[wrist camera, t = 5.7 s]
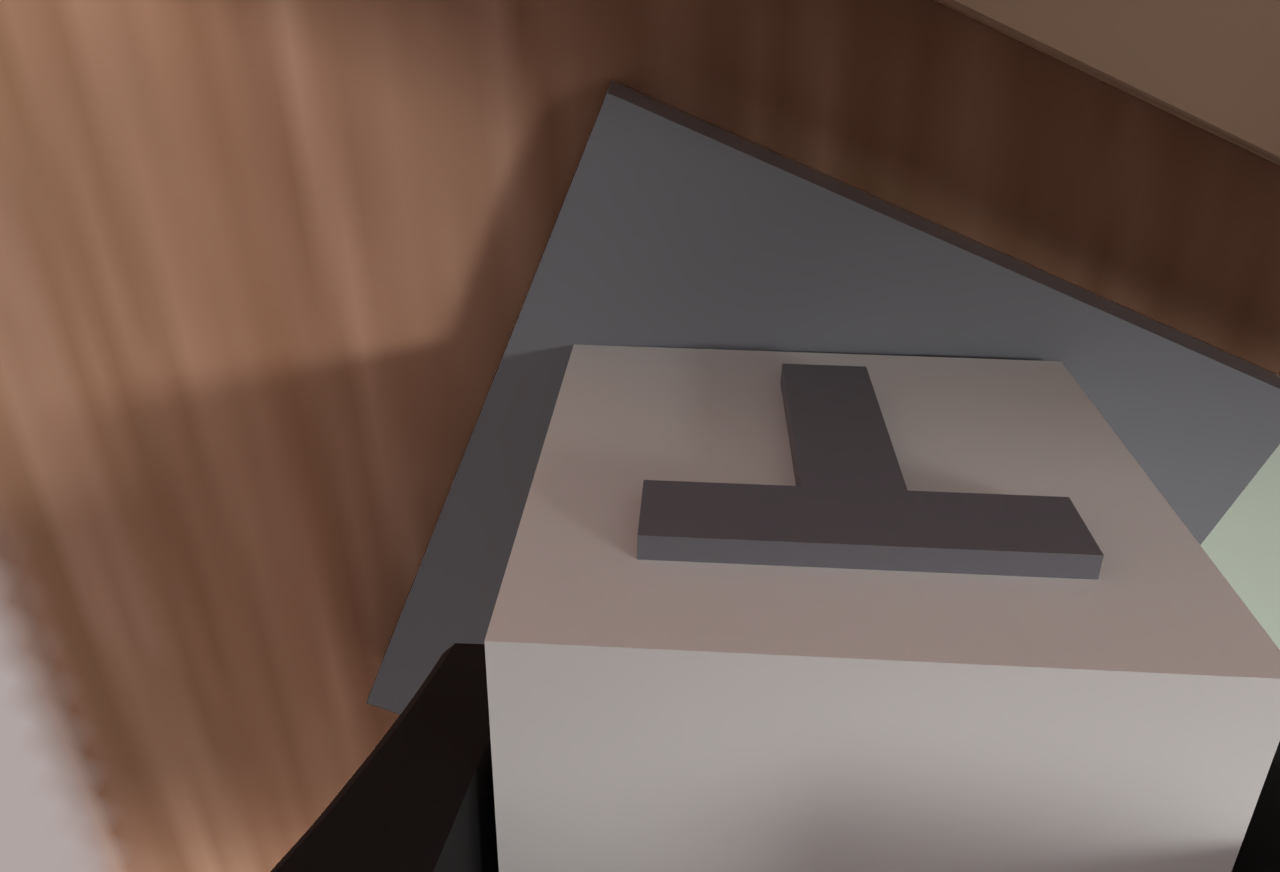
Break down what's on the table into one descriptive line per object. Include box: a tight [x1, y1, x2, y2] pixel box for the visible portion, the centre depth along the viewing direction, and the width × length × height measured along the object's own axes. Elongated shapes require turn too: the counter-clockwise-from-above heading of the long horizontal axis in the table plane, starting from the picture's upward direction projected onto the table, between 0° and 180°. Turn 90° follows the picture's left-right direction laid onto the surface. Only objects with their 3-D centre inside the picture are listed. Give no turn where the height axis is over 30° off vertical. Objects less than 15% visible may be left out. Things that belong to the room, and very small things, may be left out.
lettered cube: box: [484, 344, 1280, 872], centre depth 10 cm, size 5×5×5 cm
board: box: [367, 80, 1280, 714], centre depth 13 cm, size 16×8×1 cm, turn 67°
